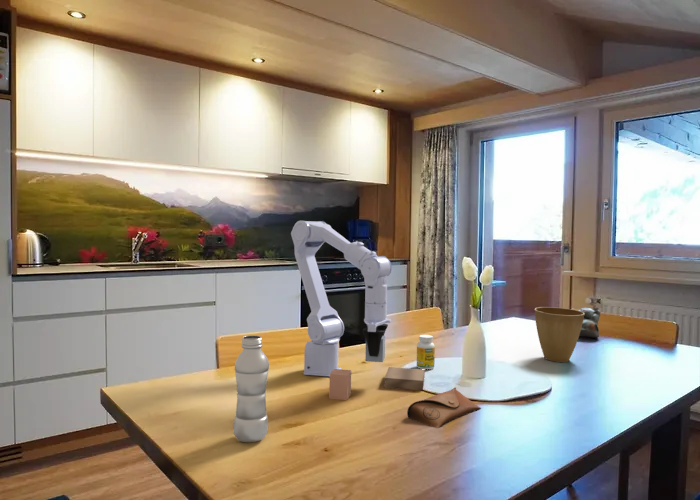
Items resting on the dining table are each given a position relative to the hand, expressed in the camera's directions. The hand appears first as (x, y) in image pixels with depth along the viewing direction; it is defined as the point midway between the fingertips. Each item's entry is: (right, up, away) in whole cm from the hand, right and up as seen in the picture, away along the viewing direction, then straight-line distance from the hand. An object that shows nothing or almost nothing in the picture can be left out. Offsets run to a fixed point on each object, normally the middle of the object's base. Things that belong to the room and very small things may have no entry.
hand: (375, 353), depth 127 cm
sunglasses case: (+15, -10, -18) cm, 26 cm away
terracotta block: (-9, -9, -8) cm, 15 cm away
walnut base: (+8, -9, +3) cm, 13 cm away
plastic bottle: (-26, -10, -34) cm, 43 cm away
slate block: (0, -2, 0) cm, 2 cm away
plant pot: (+61, -9, +30) cm, 68 cm away
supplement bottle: (+16, -8, +18) cm, 25 cm away
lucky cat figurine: (+85, -7, +65) cm, 108 cm away
